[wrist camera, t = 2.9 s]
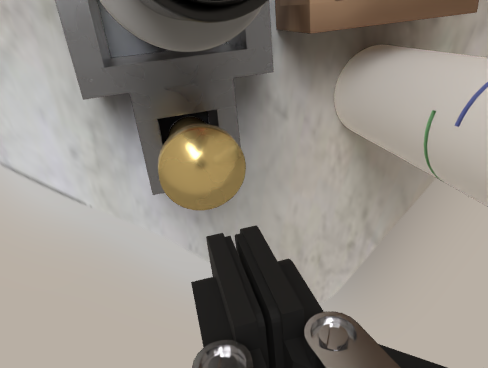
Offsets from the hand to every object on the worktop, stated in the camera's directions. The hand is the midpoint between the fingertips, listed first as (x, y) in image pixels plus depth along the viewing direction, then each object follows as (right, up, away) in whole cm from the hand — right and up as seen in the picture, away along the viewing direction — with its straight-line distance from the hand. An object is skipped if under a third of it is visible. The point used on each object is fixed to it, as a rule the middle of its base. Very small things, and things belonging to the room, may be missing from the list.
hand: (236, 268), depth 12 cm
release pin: (-3, +6, +12) cm, 14 cm away
